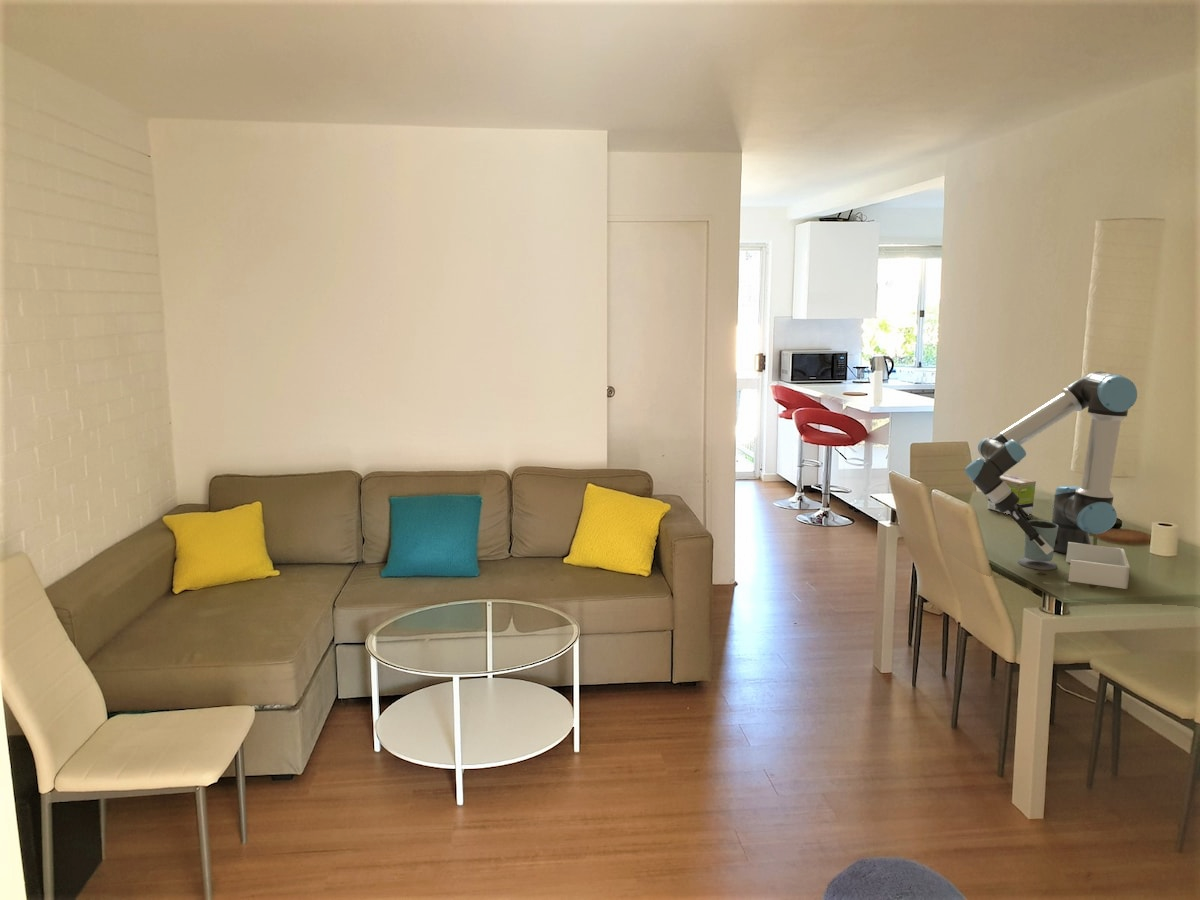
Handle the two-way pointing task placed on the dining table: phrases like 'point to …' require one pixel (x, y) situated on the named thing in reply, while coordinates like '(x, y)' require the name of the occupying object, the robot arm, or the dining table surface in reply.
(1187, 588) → the dining table surface
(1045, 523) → the blue plant pot
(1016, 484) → the tea box
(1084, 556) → the open-front crate
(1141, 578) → the dining table surface
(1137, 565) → the dining table surface
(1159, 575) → the dining table surface
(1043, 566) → the coaster
